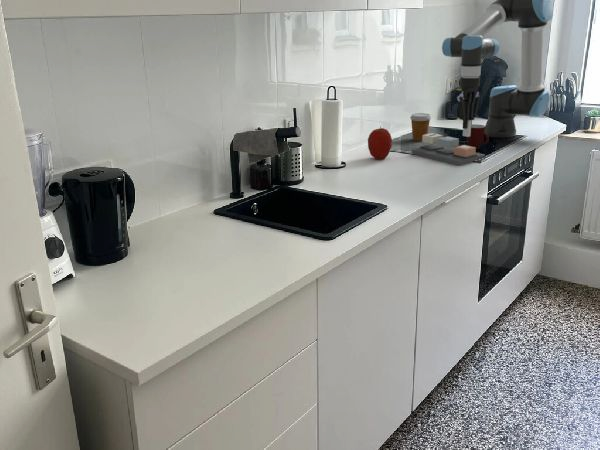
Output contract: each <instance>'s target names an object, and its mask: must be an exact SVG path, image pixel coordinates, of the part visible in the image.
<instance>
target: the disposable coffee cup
mask: <svg viewBox="0 0 600 450" xmlns="http://www.w3.org/2000/svg"><path fill="white" fill-rule="evenodd" d="M431 119H432V117H431V114H430V113H423V112H417V113H416V112H415V113H411V115H410V120H411V131H412V132H411V133H412V141H414V142H422V136H423V135H425V134H429V127H430V121H431Z"/></svg>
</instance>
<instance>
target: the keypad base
mask: <svg viewBox="0 0 600 450" xmlns="http://www.w3.org/2000/svg"><path fill="white" fill-rule="evenodd" d="M411 155H413V156H414V155H416V156H418V157H423V158H425V159H431V160H435V161H439V162H442V163H445V164H450V165H454V166H458V167H459V166H462V165H467V164H471V163H474V162H473V161H475V160H479V159H482V158H485V159H486V154H484V153H480V152H475V155H472V156H467V157H463V156H459V155H455V154H454V147H451V148H447V147H442V146H438V143H436V144H426V145H422V146H419V147H418V148H412V149H411Z"/></svg>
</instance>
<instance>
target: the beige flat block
mask: <svg viewBox="0 0 600 450" xmlns="http://www.w3.org/2000/svg"><path fill="white" fill-rule="evenodd" d="M476 151H477V149H476V147H472V146H468V144H462V145H459V146H455V147H454V154H455V155H459V156H463V157H467V156H472V155H475V152H476ZM476 153H477V152H476Z"/></svg>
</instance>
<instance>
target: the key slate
mask: <svg viewBox="0 0 600 450" xmlns="http://www.w3.org/2000/svg"><path fill="white" fill-rule="evenodd" d="M459 142H460V138H457V137H453V136H443V138H438V143H437V144H438V146H442V147H447V148H451V147H457V146H460V143H459Z"/></svg>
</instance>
